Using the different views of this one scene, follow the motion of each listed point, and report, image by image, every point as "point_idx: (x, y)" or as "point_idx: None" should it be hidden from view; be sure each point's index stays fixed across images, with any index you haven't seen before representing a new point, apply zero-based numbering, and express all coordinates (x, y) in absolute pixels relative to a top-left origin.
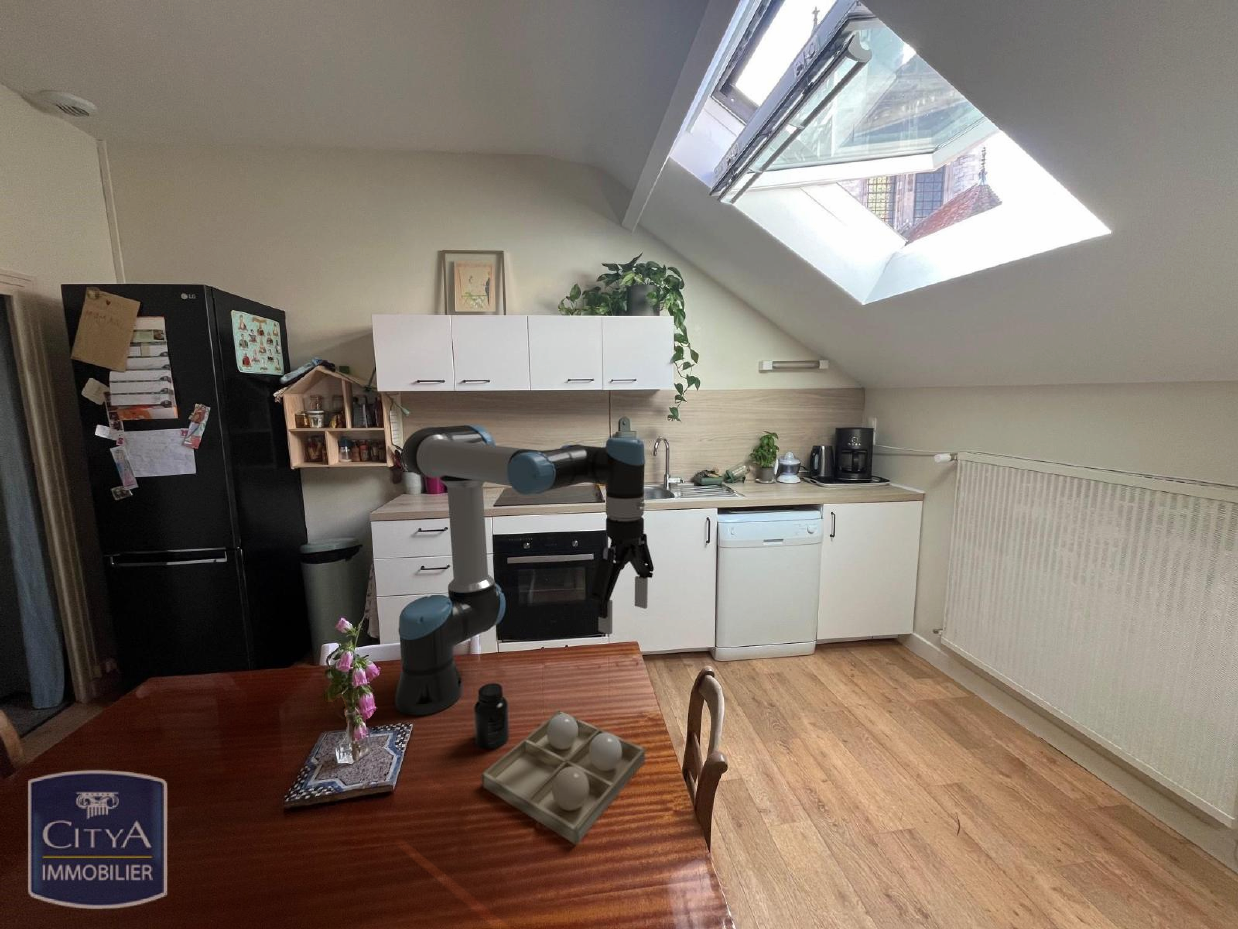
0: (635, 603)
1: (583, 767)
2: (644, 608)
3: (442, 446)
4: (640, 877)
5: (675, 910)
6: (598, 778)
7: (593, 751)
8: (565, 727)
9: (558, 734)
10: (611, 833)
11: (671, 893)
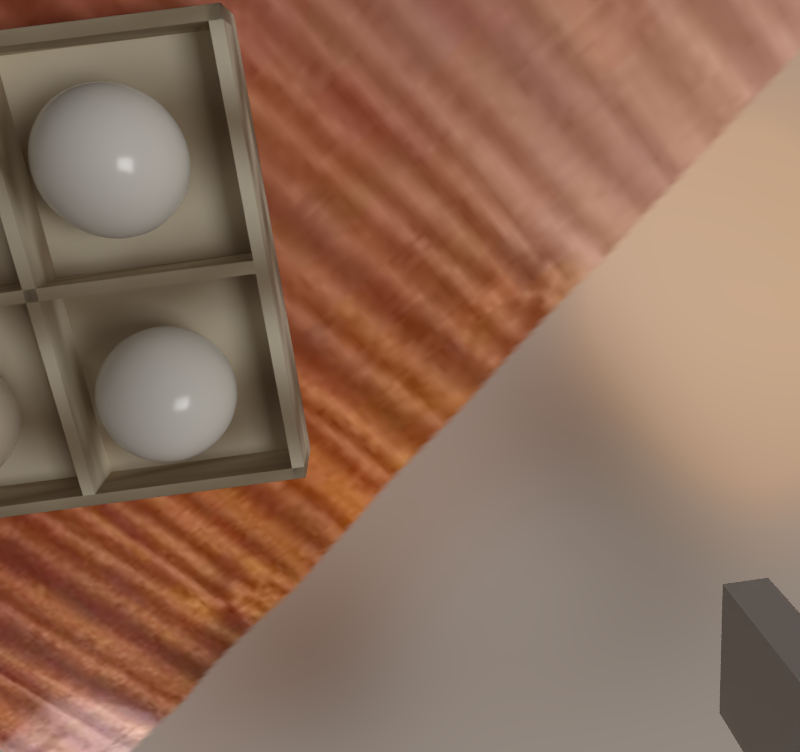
0: (741, 618)
1: (120, 313)
2: (721, 702)
3: None
4: (7, 653)
5: (15, 741)
6: (70, 446)
7: (95, 396)
8: (73, 216)
9: (45, 200)
10: (34, 531)
11: (37, 718)
